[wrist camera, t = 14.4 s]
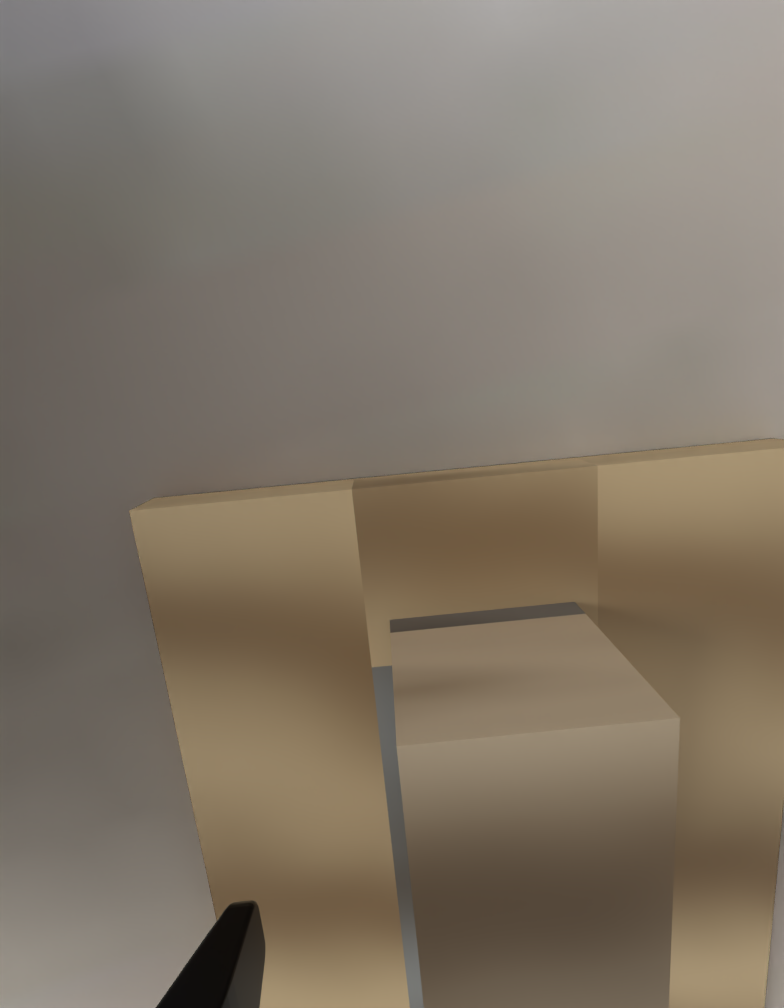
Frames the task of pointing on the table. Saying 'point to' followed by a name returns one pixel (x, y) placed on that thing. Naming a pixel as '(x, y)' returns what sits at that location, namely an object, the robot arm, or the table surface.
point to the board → (370, 697)
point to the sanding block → (534, 811)
